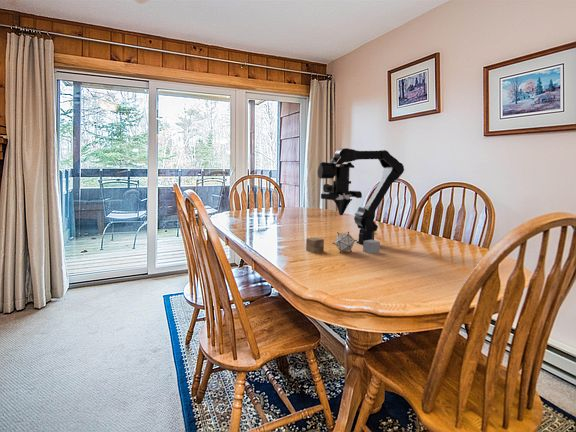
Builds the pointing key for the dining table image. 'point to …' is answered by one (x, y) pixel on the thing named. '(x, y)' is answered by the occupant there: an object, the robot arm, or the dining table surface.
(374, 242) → the slate block
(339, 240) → the game die
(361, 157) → the robot arm
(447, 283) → the dining table surface
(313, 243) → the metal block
